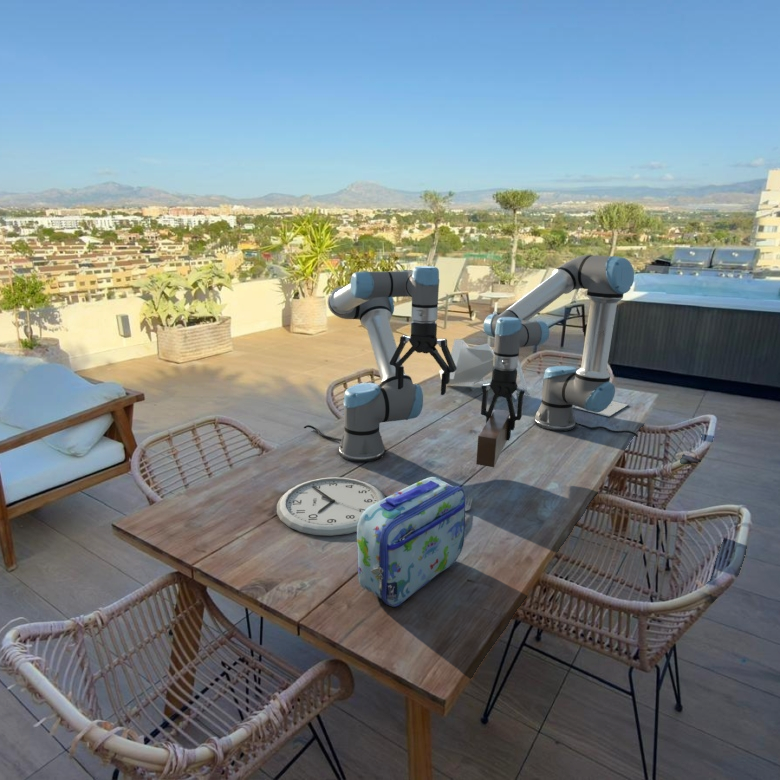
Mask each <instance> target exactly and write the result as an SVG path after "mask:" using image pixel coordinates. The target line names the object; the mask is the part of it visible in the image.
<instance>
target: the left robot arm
mask: <svg viewBox="0 0 780 780" xmlns="http://www.w3.org/2000/svg"><path fill="white" fill-rule="evenodd" d="M439 288H440V270H439V268H438V267H436V266H430V265H429V266H428V265H427V266H426V265H425V266H424V265H419V266H418V265H417V266H414V267H413V269H403V270H393V271H392V270H391V271H389V270H388V271H367V270H363V271H357V272H353V273H352V275H351V278H350V283H348V284H346V285H344V286H338V287H336V288H334V289H333V290H331V292H330V293H329V294H328V297H327V306H328V309H329V311H330V312H331V313H332V314H333V316H336V317H338V318H341V319H344V320H359V321H360V324H361V326H362V327H364V329H365V328H366V331H367V335H368V339H369V341H370V345H371V349H372V352H373V356H374V360H375V364H376V366H377V367H376V368H377V370H378V374H379V377H380V381H381V382H380V383H379V384H378V383H375V382H360V383H356V384H353V385H351V386H349V387H348V388H347V389H346V390H345V391H344V397H343V410H344V411H343V419H344V420H343V425H344V426H343V427H344V428H343V429H344V430H343V431H344V432H343V434H342V438H338V437H333V436H329V435H325V434H323V433H322V432H321V431H320V429H319V428H317V427H315V426H313V425H311V424H306V425H304V426H303V429H307V428H310V429H312V430H314V431H316V432H317V433H318V435H319V436H320V437H322V438H324V439H329V440H332V441H338V442H340V444H339V447H338V454H339V456H340V457H341V458H342V459H344V460H346V461H350V462H356V463H368V462H373V461H377V460H379V459H381V458H383V457H384V455H385V449H386V448H385V444H384V442H383V438H382V435H381V431H380V424H382V423H387V422H398V421H408V420H411V419H412V420H413V419H416V418H418V417H419V416H420V415H421V414H422V410H423V406H424V393H423V388H422V386H421V385H420V384H419V383H413V380H412V377H411V376H410V375H408V374H406V372H405V367H404V365H403V364H404V363H405V362H406V361H407V360H408V359H409V358H410V357H411V356H412V355H413V354H414V352H416V353H418V354H420V353H423V354H426V355H427V354H429V355H430V356H431V357H432V358H433V359H434V360H435V362H436V363H437V364H438V366H439V367H440V368H441V369H442V370H443V371H444V372H443V373H442V380H441V379H440V384H441V385H440V396H444V395H445V394H446V393H447V385H446V384H448V383H449V381H450V373H451V372H454V371H455V370H456V369H457V368H456V365H455V363H454V361H453V358H452V356H451V352H450V348H449V346H448V340H447V338H443V339H438V337H437V333H438V323H437V320H438V310H439V309H438V305H439V291H440V289H439ZM402 297H405V298H406V297H407V298H411V318H410V319H411V320H412V321H411V323H410V336H407V335H406V334H403V335H402V336H400V338H399V344H398V345H397V342H396V340H395V337H394V332H393V330H392V326H391V323H390V322H391V319H392V316H393V315H394V312H395V305H394V298H402ZM408 343H409V344H410V345H411V347H410V348H409V349H408V350H407V351H406V352H405V354H404V355H402V357H401V354H402V352H403V350H404V349H405V346H406V344H408ZM437 345H438V346H439V347H440V349H441V352H442V354H443V356H444V358H443V356H442V355H441V354H440V353H439V351H438V349H437V348H436V346H437ZM448 366H449V367H448Z"/></svg>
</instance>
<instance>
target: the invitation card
mask: <svg viewBox="0 0 780 780" xmlns="http://www.w3.org/2000/svg"><path fill="white" fill-rule="evenodd" d="M628 406H629V404H627V403H623V402H618V401H614V400H612V402H611V403H610V405H609V406H608V407H607V408H606V409H605V410H603V411H601V412H593V411H588V410H586V409H583V408H580V407H577V406H574V407H573V409H575V410H581V411H584V412H587V413H593V414H596V415H600V416H604V417H608V418H609V417H611V416H613V415H614V414H616V413H617V412H619V411H621V410H623V409H624V408H626V407H628Z"/></svg>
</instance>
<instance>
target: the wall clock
mask: <svg viewBox="0 0 780 780" xmlns="http://www.w3.org/2000/svg"><path fill="white" fill-rule="evenodd" d="M385 498H386V496H385V494H384V493H383V492H382V491H381V490H380V489H379V488H377V487H376V486H374V485H372V484H371V483H369V482H365V481H362V480H359V479H355V478H349V477H338V476H337V477H335V476H333V477H332V476H331V477H322V478H317V479H312V480H307V481H305V482H302V483H299V484H297V485H295V486H293V487H292V488H290V489H288V490H287V491H286V492H285V493H284V494H283V495H281V496H280V498H279V499H278V502H277V503H276V515H277V517H278V518H279V520H280V521H281V522H282V523H283V524H285V525H286V526H287V527H288V528H290V529H293V530H295V531H297V532H299V533H303V534H308V535H312V536H327V537H328V536H329V537H331V536H332V537H333V536H342V535H350V534H352V533H357V526H358V522H359V519H360V517H361V515H362V513H363V512H364V511H365V510H366V509H367V508H368V507H369V506H371V505H373V504H375V503H377V502H379V501H381V500H383V499H385Z"/></svg>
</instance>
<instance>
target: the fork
mask: <svg viewBox="0 0 780 780" xmlns="http://www.w3.org/2000/svg"><path fill="white" fill-rule="evenodd" d="M470 498H471V496H468V497H465V512H467V511H470V510H471V508H472V501H473V498H471V499H470ZM467 499H468V500H467Z"/></svg>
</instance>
